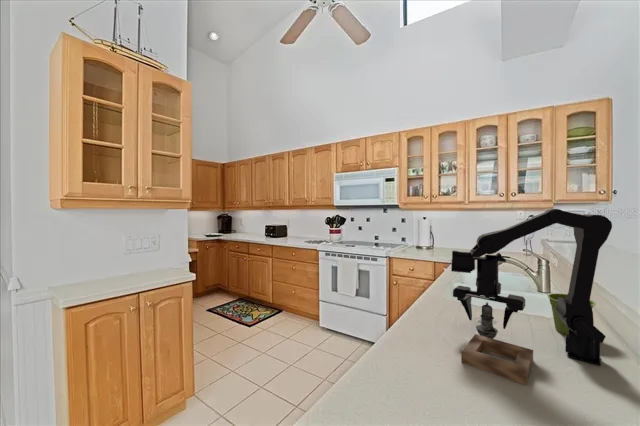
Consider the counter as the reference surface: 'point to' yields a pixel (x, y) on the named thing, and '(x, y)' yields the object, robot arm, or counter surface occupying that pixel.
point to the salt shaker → (487, 323)
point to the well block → (495, 365)
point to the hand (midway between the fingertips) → (486, 324)
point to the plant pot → (558, 322)
